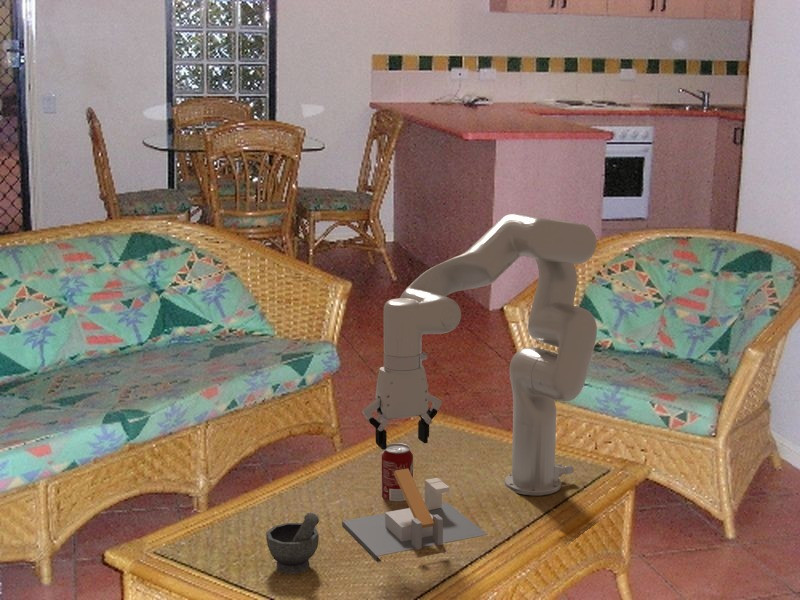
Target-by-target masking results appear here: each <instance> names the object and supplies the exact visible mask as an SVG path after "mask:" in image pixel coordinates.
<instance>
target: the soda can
mask: <svg viewBox="0 0 800 600" xmlns="http://www.w3.org/2000/svg"><path fill="white" fill-rule="evenodd" d="M402 469H409V471H410V473H411V475H412V477H413V478H414V455H413V453H412V451H411V446H409V445H408V444H405V443H398V442H397V443H389V444H387V448H386V450H383V452H382V454H381V497H382V498H383V499H385V500H387V501H390V502H391V501H392V502H402V501H406V499H405V497H404V495H403V493H402V491H401V488H400V486H399V484H398V482H397V480H396V478H395V476H394V471H396V470H402Z"/></svg>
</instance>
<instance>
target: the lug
mask: <svg viewBox="0 0 800 600" xmlns="http://www.w3.org/2000/svg"><path fill="white" fill-rule="evenodd" d="M449 492H450V486H449V485H447V484H446V483H444V482H443V481H442V479H440V478H439V477H434V478H428V479H424V503H425V505H426V507H427V509H428V510H432V509H438V508H442V503H443V494H445V493H449Z"/></svg>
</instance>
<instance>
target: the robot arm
mask: <svg viewBox="0 0 800 600" xmlns="http://www.w3.org/2000/svg"><path fill="white" fill-rule="evenodd" d="M471 245H472V246H470V247H469V248H468V249H467V250H466V251H464V252H463V253H461V254H459V255H456V256H454V257H452V258H449V259H447V260H445V261H443V262H441V263H439V264H436V265H434V266H432V267H431V268H429V269H427V270H426V271H424V272H423V273H421V274H420V275H419V276H418V277H417V278H416V279H415V280H413V282H411V283H410V285H408V286H407V287H406V288H405V290H404V291H403V292H402V294H401V295H400V297H398V298H392V299H389V300H387V301H386V302H385V303H384V305H383V366H381V367H379V370H378V375H377V380H376V388H375V397H374V398H375V399H374V400H373V401H372V402H371V403H369V404H368V405H367V406H365V407H364V408H363V409H362V410H361V413H362V414H363V415H364V417H365V419H366V420H367V422H368V423H370V424H371V425H372V426H373V427H374V428H375V444H376V445H377V447H378V448H380V449H381V450H382V451H385V450H386V448H387V445H388V444H387V437H388V436H387V430H386V429H385V428H386V426H387V424H388V423H389V422H390V420H397V419H398V420H399V419H406V418H412V417H419V418H420V420H418V422H417V438H418V440H419V441H421V442H422V443H423V444H428V442H429V439H428V438H430V424H431V423H432V421H433V419H434V418H435V417H436V416H437V414H438V411H439V410H440V408H441V406H442V404H443V401H442V400H441V399H440V398H438V397H435V396H434V395H432V394H430V393H429V387H428V380H427V374H426V369H425V366H424V365H423V361H424V360H428V353H427V352H422V351H423V349H422V347H423V346H422V345H423V344H422V343H423V339H422V336H423V335H442V334H447V333H450V332H452V331H454V330H455V329H456V328H457V327H458V325H459V324H460V321H461V319H462V310H461V307H460V306H459V304H458V303H457V302H456V301H455V300H454V299H452V298H450V297H448V296H449V295H450V294H453V293H456V292H459V291H464V290H465V291H466V290H472V289H473V290H474V289H478V288H482V287H487V286H490V285H492V284H493V283H494V282H496V281H497V280H498V278H500V277H501V275H503V274H504V273H505V272H506V270H508V269H509V267H511V266H512V265H513V264H514V263H515V262H516V261H517V260H518V259H519V258H522V257H526V258H530V259H534V260H535V261H536V265H537V268H538V269H537V271H538V280H537V284H536V288H535V289H536V290H535V293H534V295H533V296H534V297H533V301H532V305H531V310H530V313H529V316H528V322H527V331H528V334H529V336H530V337H531V338H532V339H533V340H535V341H538V342H540V343H543V344H546V345H549V346H553V347H556V348H558V350H557V353H555V352H553V351H550V350H547V349H543V348H540V347H532V346H529V347H524V348H521V349H519V350H518V351H516V352H515V353H514V354H513V356H512V357H511V360H510V364H509V380H510V385H511V391H512V403H513V406H512V409H513V410H512V413H513V415H512V442H511V443H512V444H511V445H512V446H511V447H512V448H511V450H512V451H511V453H512V454H511V473H509V474H508V475H506V476H505V478H504V486H505V487H506V488H508V489H510V490H511V491H512V492H514V493H516V494H520V495H524V496H533V497H535V496H548V495H551V494H555V493H556V492H559V490H561V488H562V481H561V477H562V476H563V475H565V476H566V475H571V474H574V471H575V470H574V467H573V465H571V464H569V465H563V464H562V463H561V462H560V463H556V441H557V440H556V437H557V436H556V434H557V433H556V432H557V405H556V402H555V400H557V401H560V402H570V401H573V400H575V399H576V398H577V397H578V396H579V395H580V394H581V392H582V390H583V388H584V385H585V383H586V380H587V376H588V373H589V368H590V364H591V361H592V357H593V352H594V349H595V345H596V341H597V334H598V329H597V327H598V326H597V322H596V319H595V316H594V315H593V314H592V313H591V311H589V310H588V309H585V308H583V307H580V306H576V305H574V302H575V297H576V292H577V288H578V273H577V269H576V266H575V265H579V264H583V263H586V262H587V261H589V260H590V259H592V257H593V255H594V254H595V252H596V249H597V238H596V234H595V232H594V231H593V229H592V228H591V227H590V226H588V225H587V224H585V223H580V222H579V223H578V222H573V221H567V220H562V219H556V218H550V217H539V216H533V215H528V214H522V213H509V214H506V215H504V216H502V217H501V218H500V219H499V220H498V221H496V223H495V224H494V225H492V226H491V227H490V228H489V229H488V230H487V231H486V232H485V233H484V234H483V235H482V236H481V237H480V238H479V239H477V241H476V242H474V243H473V244H471ZM429 403H431V406H430V407H429ZM374 412H375V413H376V414H378V415H377V417H376V418H375V417H374V416H373V413H374Z"/></svg>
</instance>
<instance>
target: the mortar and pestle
mask: <svg viewBox="0 0 800 600" xmlns="http://www.w3.org/2000/svg"><path fill="white" fill-rule="evenodd" d="M303 518H304V519H303V521H302V522H285V523H282V524H278V525H274V526H272V527H271V528H270V529H269V530H268V531H267V532H266V535H265V536H266V541H267V542H266V544H267V548H268V550H269V553H270V555H271V556H272V559H273V560H275V561H276V569H277V571H278V572H280V573H282V574H285V575H298V574H301V573H304V572H306V571H308V569H309V568H310V561H309V560H310V559H311V557H313V556H314V555H315V553H316V552H317V549H318V548H319V547H318V546H319V541H320V540H319V535H320V534H319V531H318V529H317V528H316V526H317V525H318V524H319V522H320V519H319V516H318V515H317V514H316V513H313V512H308V513H306V514H305V516H304V517H303Z"/></svg>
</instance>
